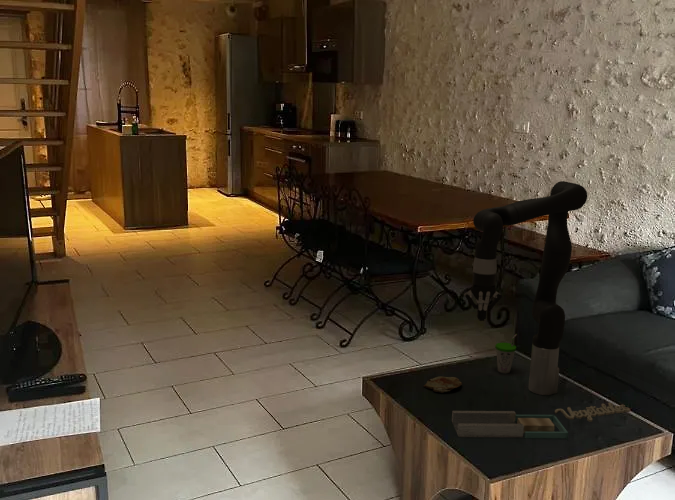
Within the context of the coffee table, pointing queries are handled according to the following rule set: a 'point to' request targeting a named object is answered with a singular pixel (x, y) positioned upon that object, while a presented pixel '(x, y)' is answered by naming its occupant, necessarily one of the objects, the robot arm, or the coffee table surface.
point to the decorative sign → (593, 411)
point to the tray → (561, 434)
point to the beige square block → (528, 424)
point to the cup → (505, 356)
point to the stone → (443, 384)
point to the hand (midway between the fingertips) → (481, 320)
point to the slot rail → (486, 424)
